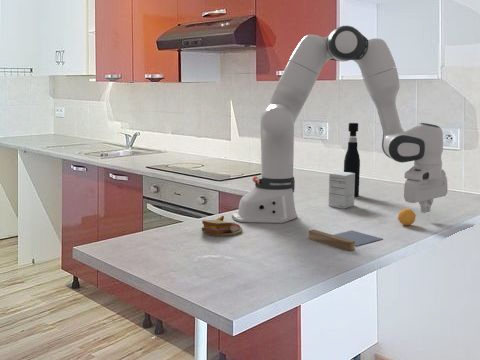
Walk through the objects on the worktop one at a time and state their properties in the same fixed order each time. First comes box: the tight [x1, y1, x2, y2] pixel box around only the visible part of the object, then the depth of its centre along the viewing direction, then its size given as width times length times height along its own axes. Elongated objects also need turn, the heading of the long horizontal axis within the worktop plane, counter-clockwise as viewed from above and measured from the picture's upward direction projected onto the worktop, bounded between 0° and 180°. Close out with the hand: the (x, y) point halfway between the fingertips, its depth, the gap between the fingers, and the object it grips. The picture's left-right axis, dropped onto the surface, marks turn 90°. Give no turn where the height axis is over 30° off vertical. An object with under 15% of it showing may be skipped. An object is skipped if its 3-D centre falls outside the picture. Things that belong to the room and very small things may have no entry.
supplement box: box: [328, 170, 355, 209], centre depth 210 cm, size 7×7×13 cm
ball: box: [397, 208, 416, 226], centre depth 182 cm, size 6×6×6 cm
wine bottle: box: [343, 122, 361, 198], centre depth 227 cm, size 6×6×30 cm
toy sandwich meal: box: [201, 215, 243, 238], centre depth 173 cm, size 12×14×5 cm
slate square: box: [333, 230, 383, 247], centre depth 167 cm, size 12×12×1 cm
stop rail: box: [308, 229, 356, 252], centre depth 160 cm, size 2×16×2 cm, turn 38°
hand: (425, 212), depth 188 cm, fingers closed
